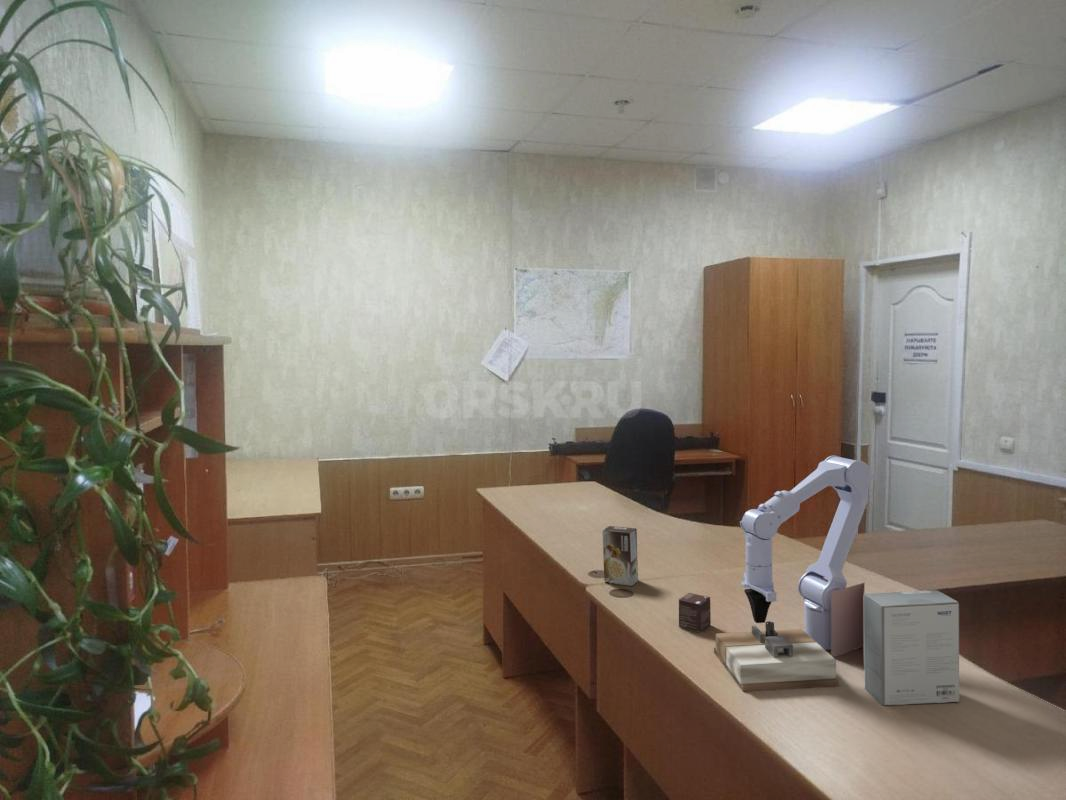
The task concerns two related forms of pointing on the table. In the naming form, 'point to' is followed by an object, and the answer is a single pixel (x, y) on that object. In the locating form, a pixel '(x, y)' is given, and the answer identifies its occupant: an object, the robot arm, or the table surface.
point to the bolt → (771, 632)
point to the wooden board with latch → (775, 660)
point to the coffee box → (620, 555)
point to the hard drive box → (911, 647)
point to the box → (694, 612)
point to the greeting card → (847, 619)
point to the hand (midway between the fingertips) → (759, 621)
